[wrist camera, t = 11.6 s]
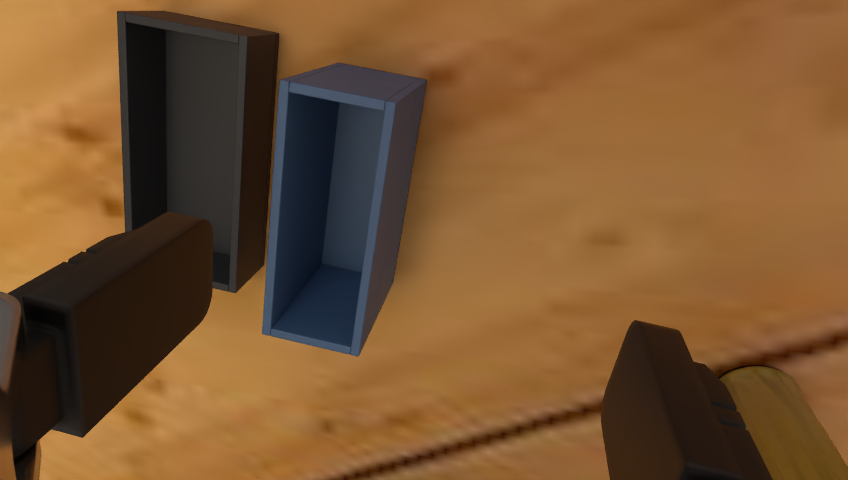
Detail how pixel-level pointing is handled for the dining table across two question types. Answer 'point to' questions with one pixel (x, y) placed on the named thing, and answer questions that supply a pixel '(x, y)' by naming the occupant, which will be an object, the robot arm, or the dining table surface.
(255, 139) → the black bin
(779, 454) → the vase
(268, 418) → the dining table surface
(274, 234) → the blue tote
